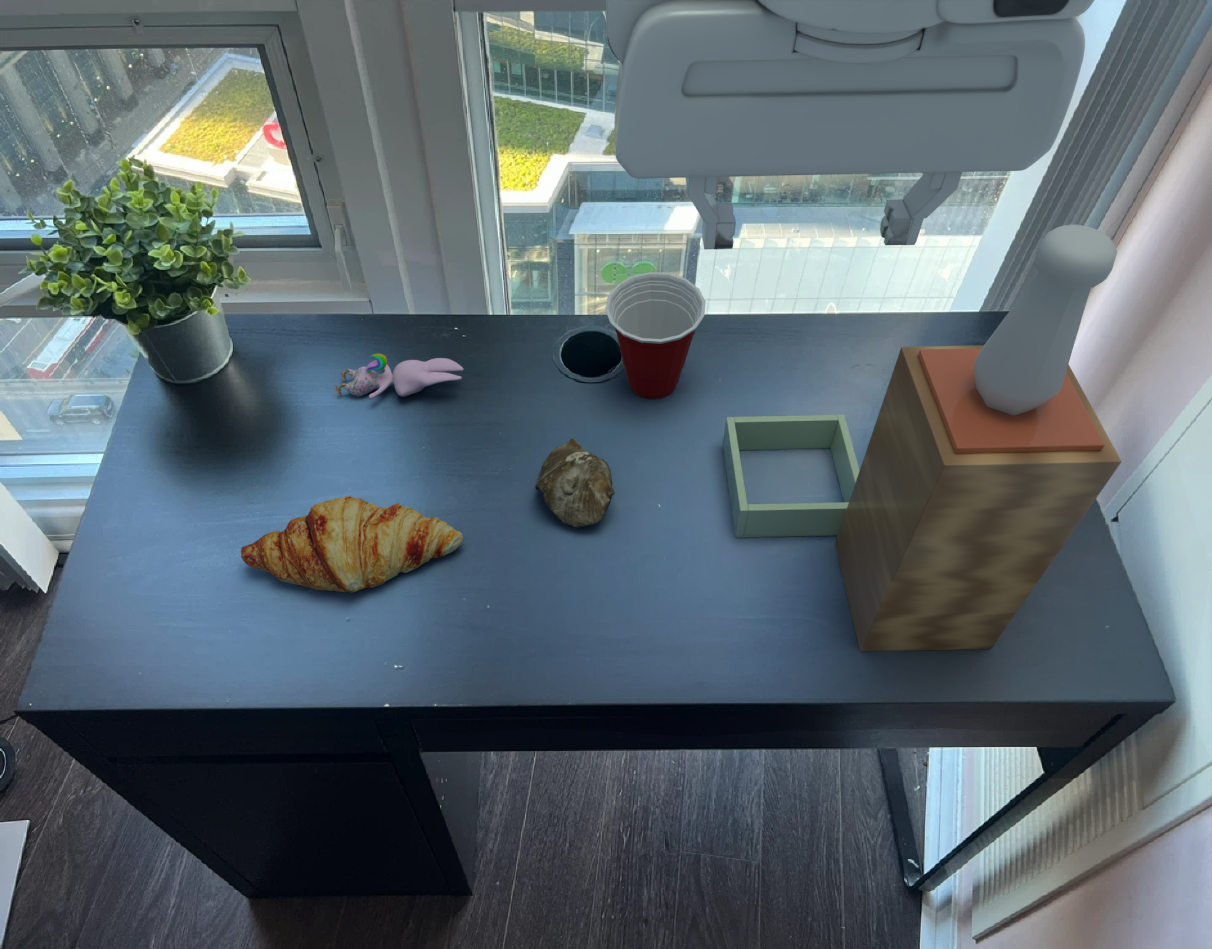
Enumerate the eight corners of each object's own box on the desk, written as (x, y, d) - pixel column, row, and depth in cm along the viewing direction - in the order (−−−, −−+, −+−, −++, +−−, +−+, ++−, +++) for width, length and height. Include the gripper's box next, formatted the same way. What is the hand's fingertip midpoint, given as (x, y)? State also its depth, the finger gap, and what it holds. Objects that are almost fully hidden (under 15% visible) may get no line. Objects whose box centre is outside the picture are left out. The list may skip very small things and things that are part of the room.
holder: (836, 442, 93) (844, 414, 89) (860, 535, 85) (870, 507, 81) (722, 445, 93) (726, 416, 89) (735, 537, 85) (740, 510, 81)
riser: (954, 541, 84) (1057, 343, 64) (991, 649, 76) (1122, 461, 57) (834, 543, 84) (901, 346, 64) (859, 651, 76) (944, 465, 57)
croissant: (468, 543, 89) (459, 473, 86) (465, 590, 80) (455, 513, 77) (261, 566, 87) (245, 495, 84) (234, 616, 77) (214, 538, 74)
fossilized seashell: (632, 510, 84) (608, 450, 92) (595, 474, 80) (573, 414, 87) (572, 550, 86) (554, 488, 93) (533, 517, 81) (517, 454, 89)
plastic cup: (594, 404, 97) (591, 323, 88) (622, 345, 104) (622, 264, 95) (684, 425, 95) (691, 344, 86) (708, 363, 101) (716, 281, 92)
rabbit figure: (340, 415, 98) (463, 403, 96) (318, 378, 94) (446, 364, 92) (353, 378, 102) (470, 365, 100) (332, 341, 98) (455, 327, 96)
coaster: (1049, 352, 64) (1052, 346, 63) (1101, 450, 57) (1105, 445, 57) (917, 354, 64) (919, 349, 63) (954, 453, 57) (957, 447, 57)
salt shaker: (1039, 435, 57) (1128, 279, 47) (955, 406, 59) (1023, 249, 49) (1057, 384, 61) (1143, 227, 51) (976, 357, 62) (1044, 201, 52)
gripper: (606, -20, 32) (609, 282, 42) (1151, -32, 32) (1017, 273, 42) (603, -78, 36) (607, 211, 46) (1086, -88, 36) (979, 203, 46)
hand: (806, 241), depth 44 cm, fingers open, 8 cm apart
